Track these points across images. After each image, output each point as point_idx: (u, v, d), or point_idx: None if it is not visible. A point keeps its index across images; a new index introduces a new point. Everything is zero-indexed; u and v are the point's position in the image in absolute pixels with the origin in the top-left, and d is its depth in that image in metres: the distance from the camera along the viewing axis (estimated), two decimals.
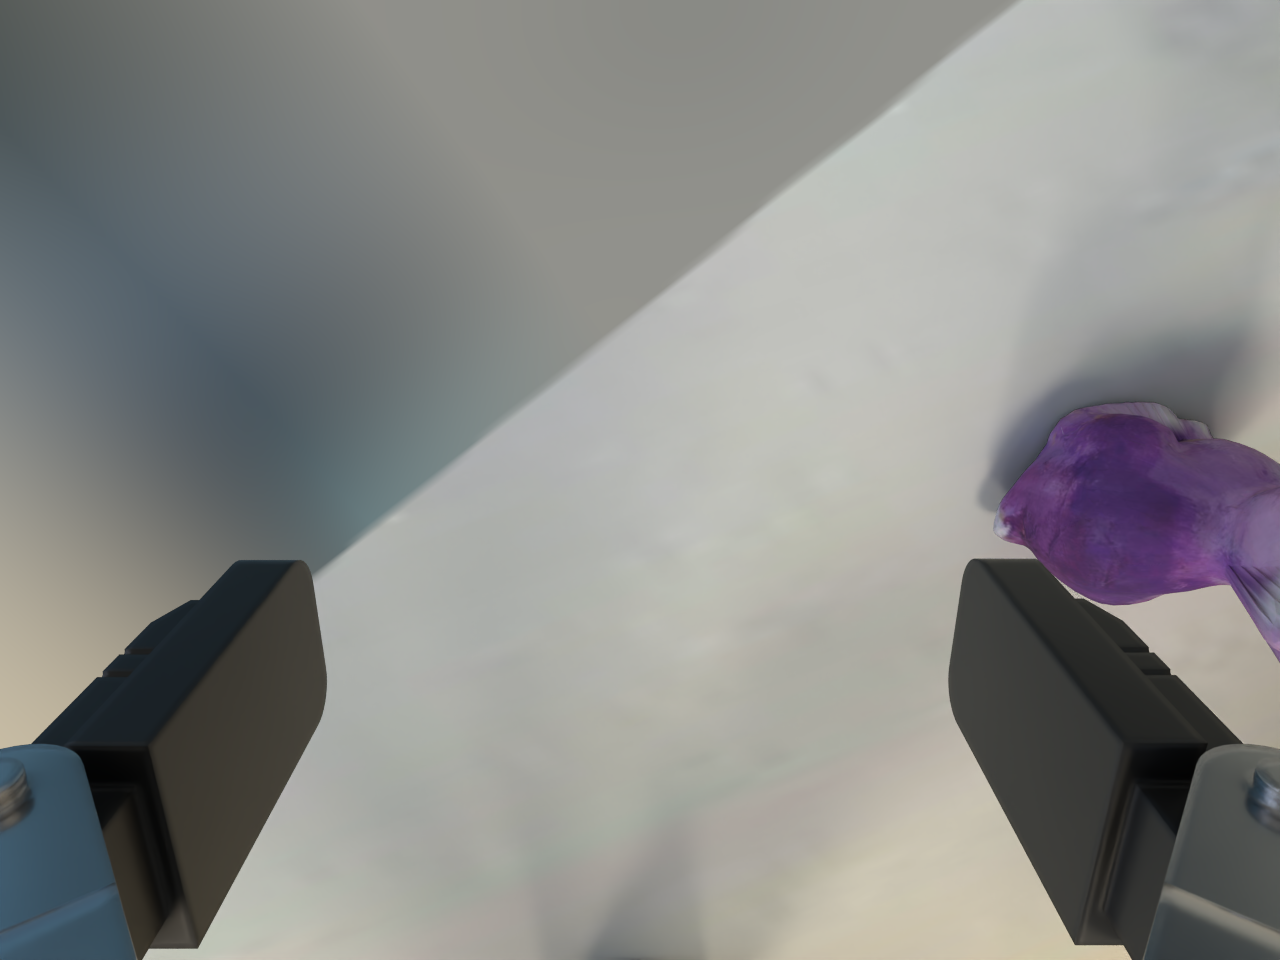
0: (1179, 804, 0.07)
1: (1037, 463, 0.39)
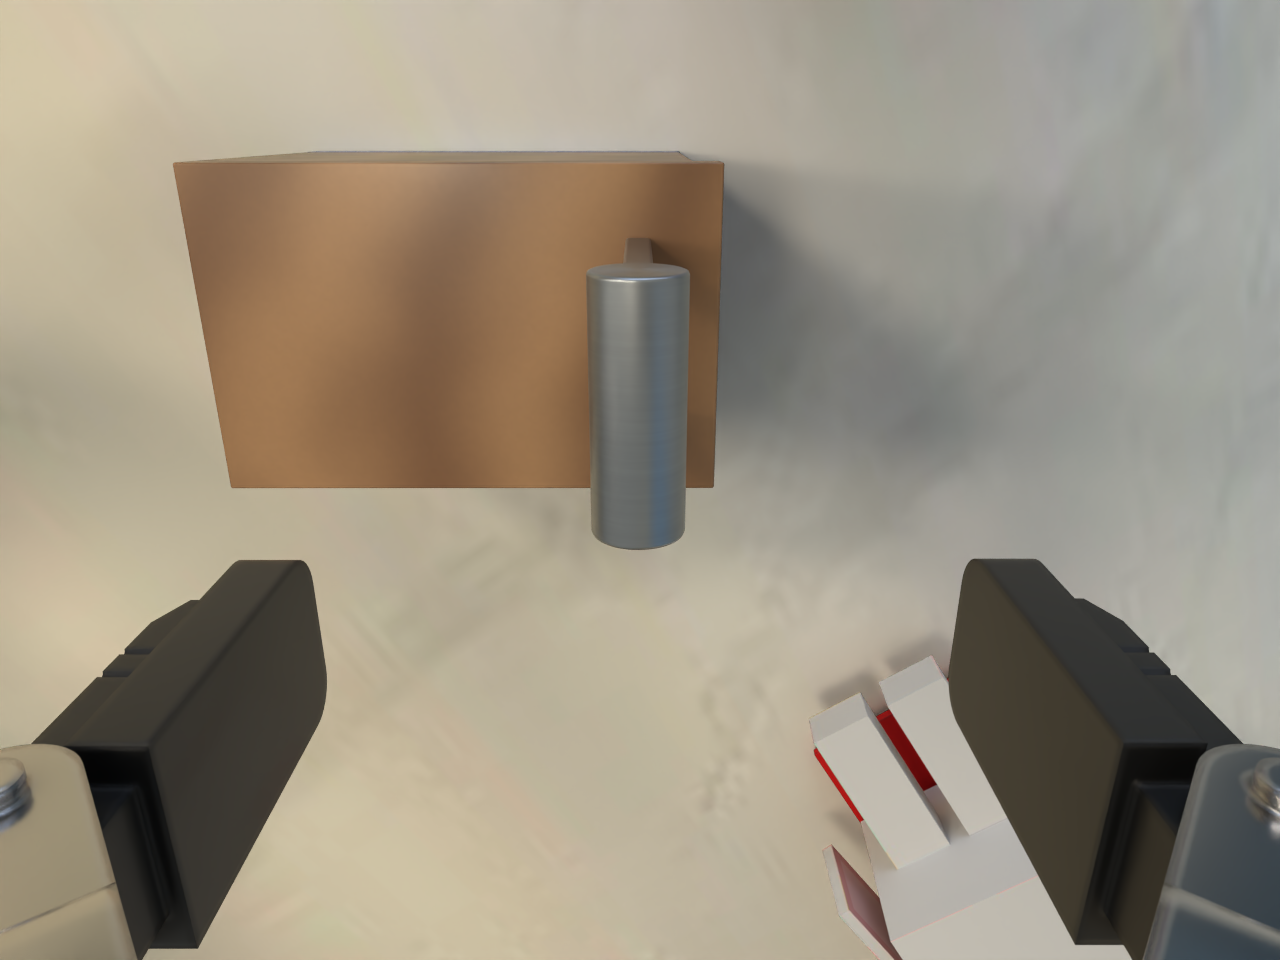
0: (1180, 804, 0.07)
1: None
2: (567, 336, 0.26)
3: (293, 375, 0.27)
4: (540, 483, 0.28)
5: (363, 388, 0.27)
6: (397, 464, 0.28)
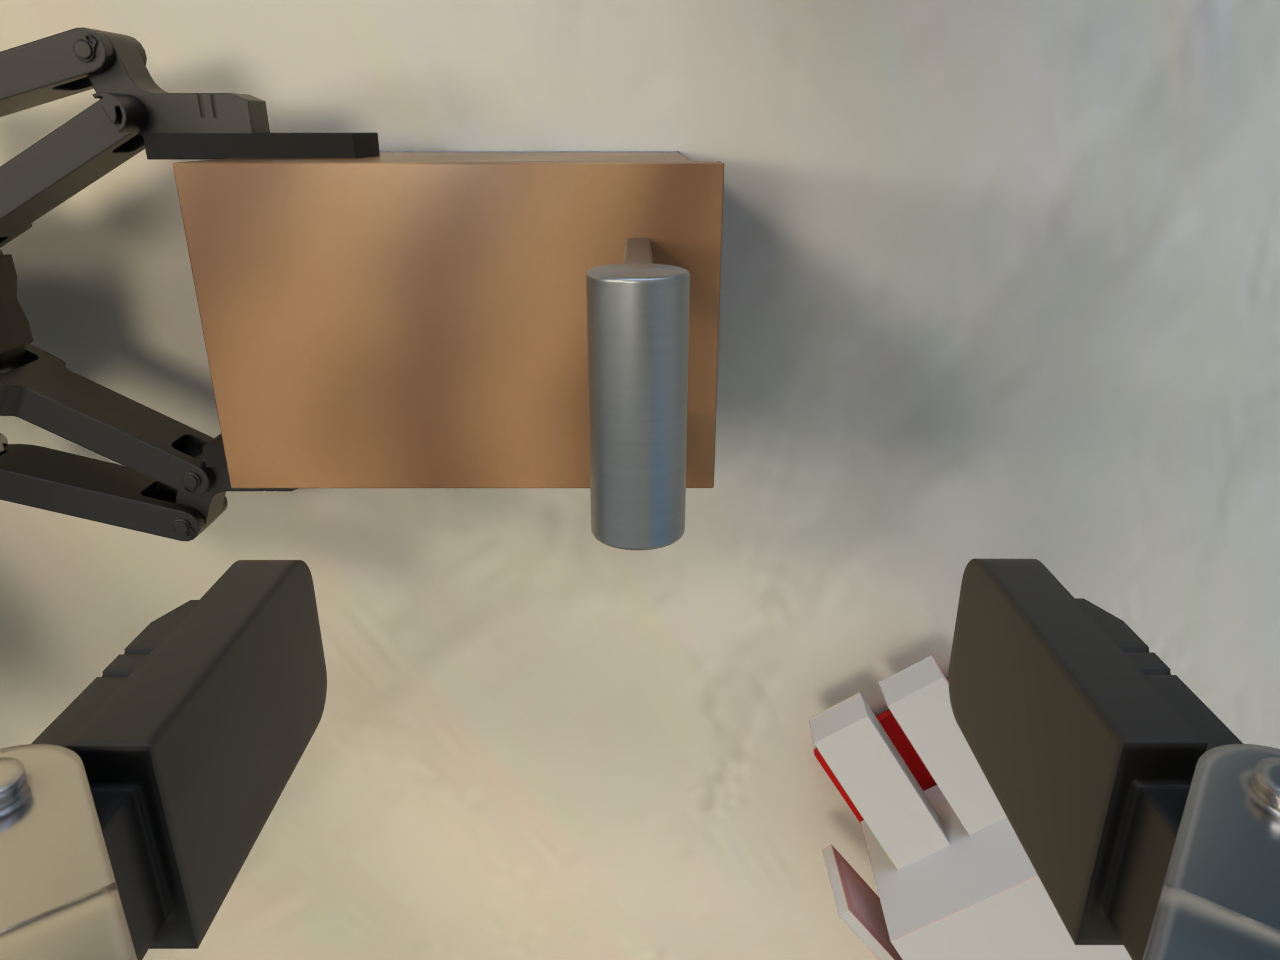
0: (1180, 804, 0.07)
1: None
2: (567, 336, 0.26)
3: (293, 375, 0.27)
4: (540, 483, 0.28)
5: (363, 388, 0.27)
6: (397, 465, 0.28)
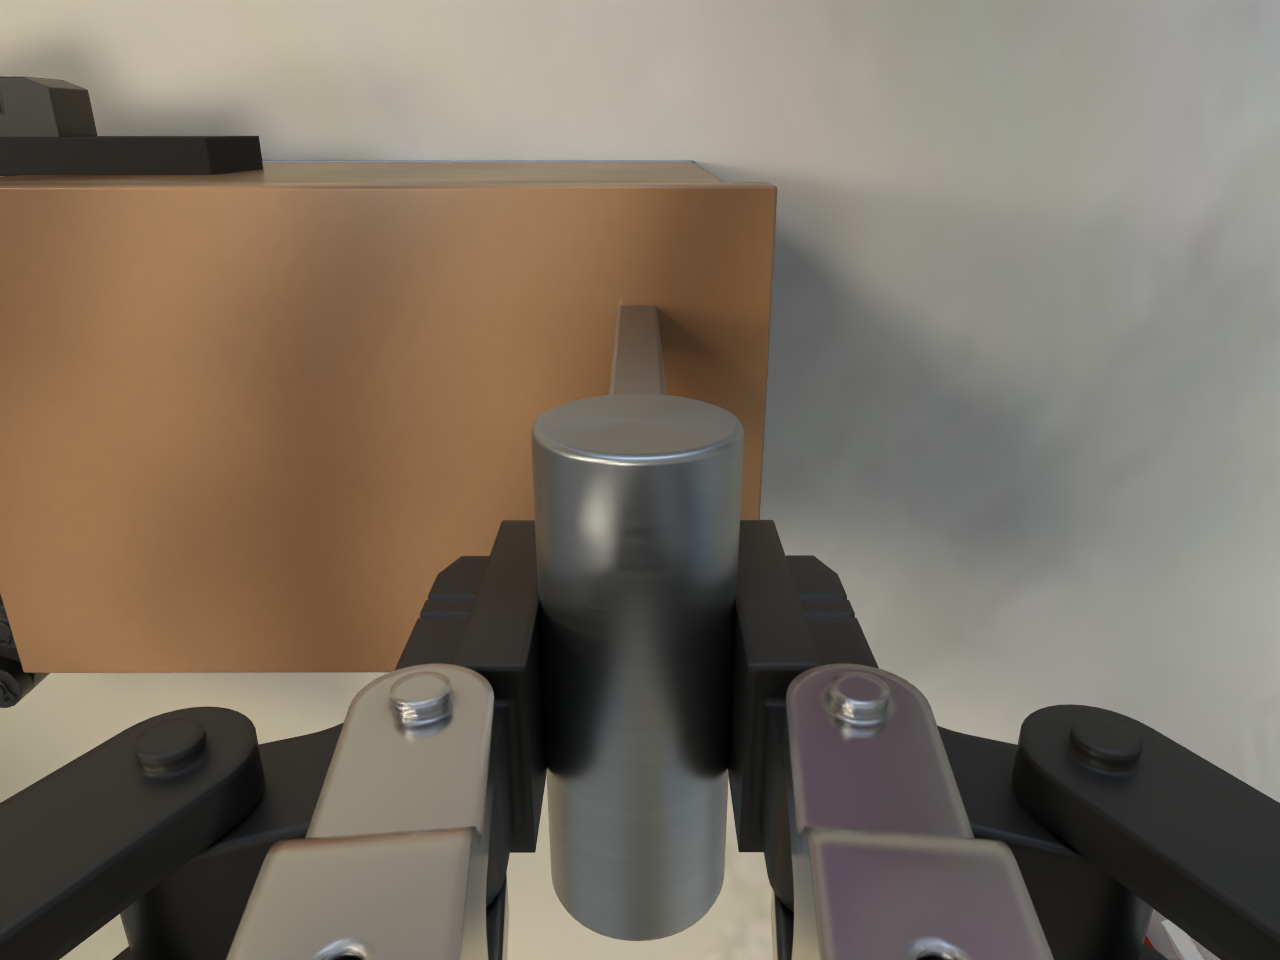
0: None
1: None
2: (526, 455, 0.17)
3: (104, 512, 0.17)
4: None
5: (213, 531, 0.17)
6: (272, 640, 0.18)
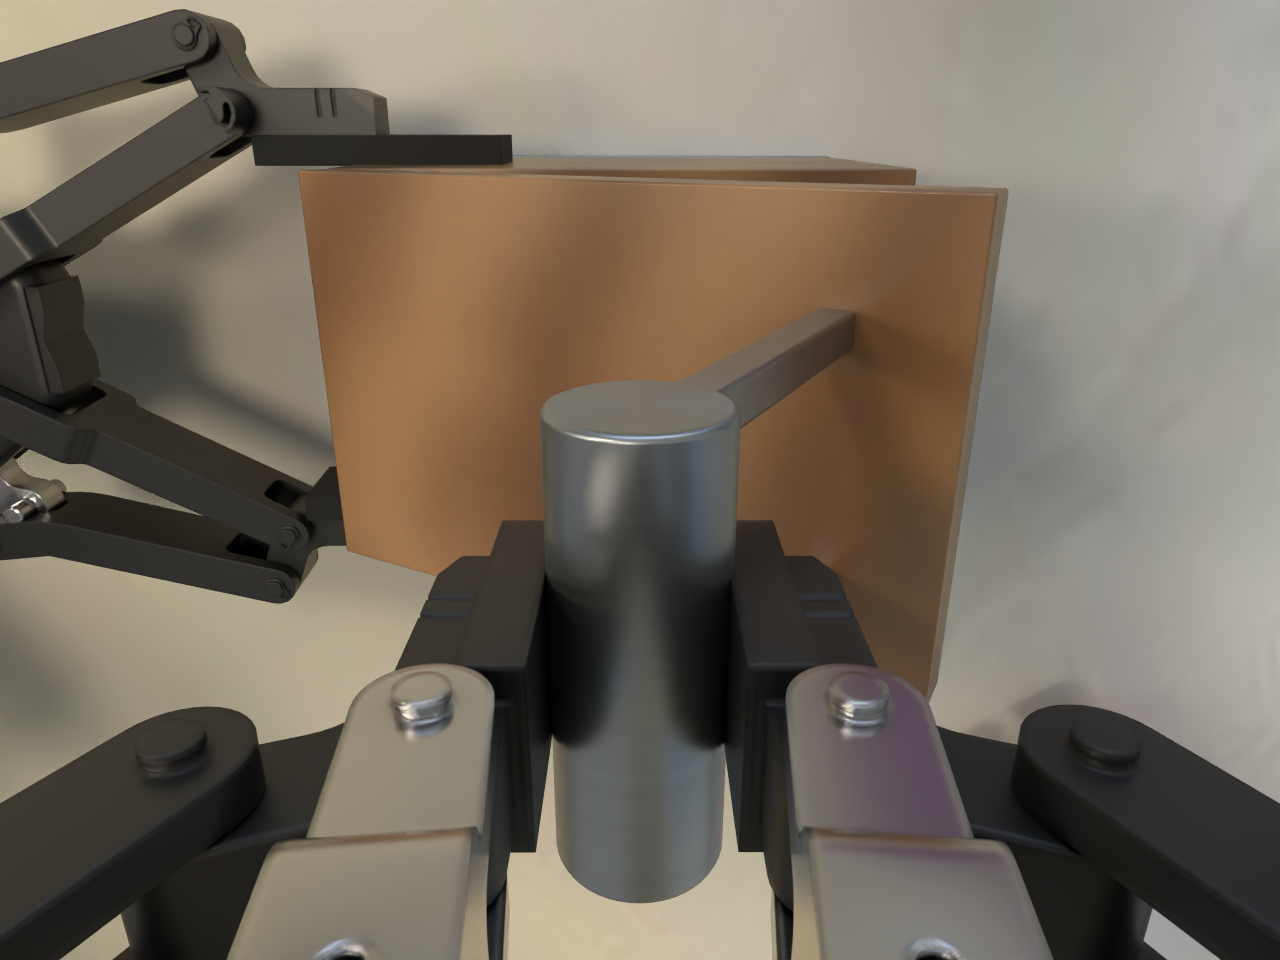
0: None
1: None
2: None
3: (404, 436, 0.21)
4: None
5: (473, 466, 0.21)
6: None
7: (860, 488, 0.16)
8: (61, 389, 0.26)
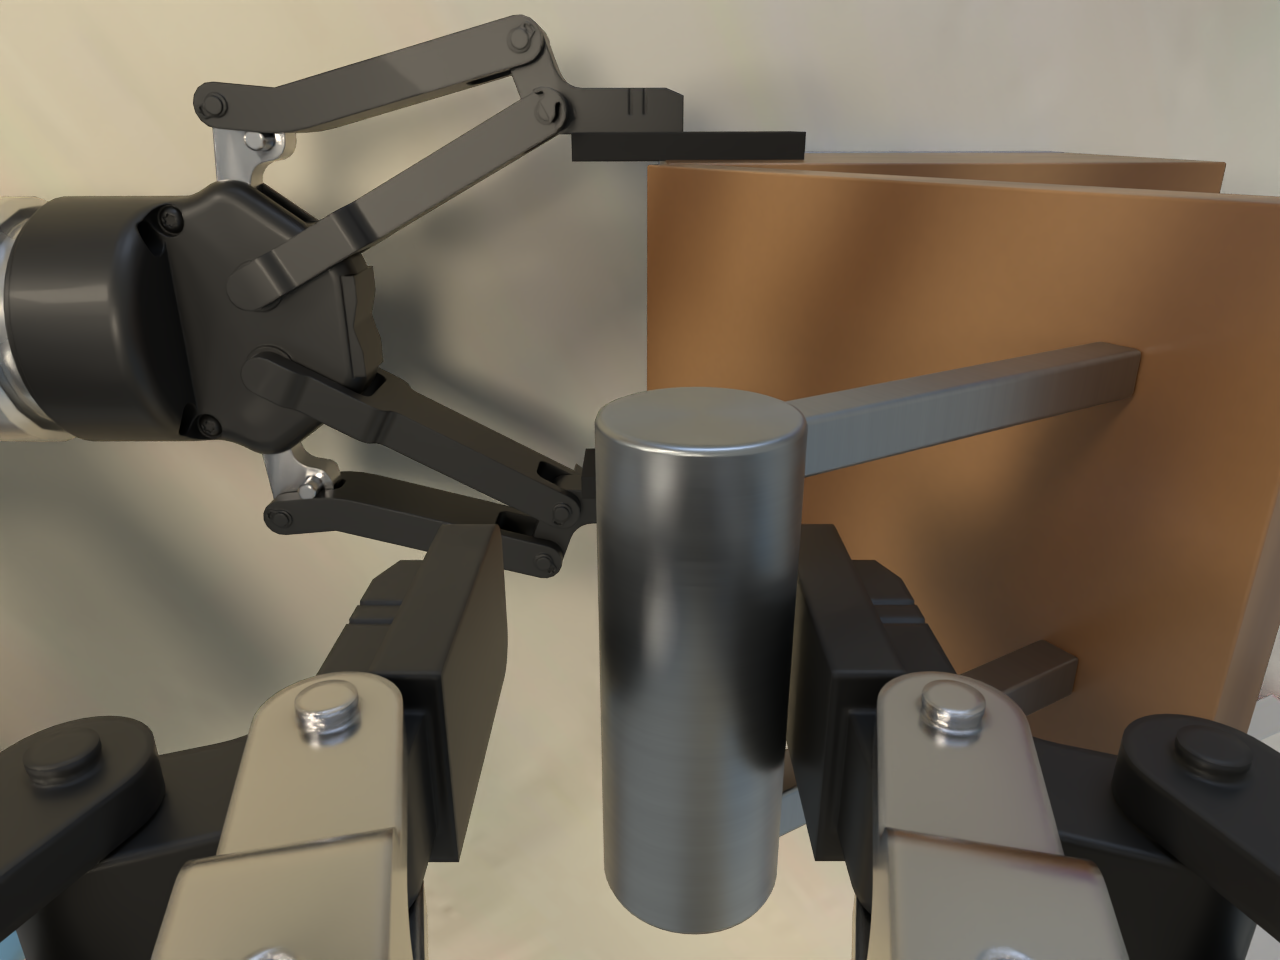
0: None
1: None
2: (972, 484, 0.15)
3: None
4: None
5: None
6: None
7: (1124, 569, 0.13)
8: (364, 373, 0.28)
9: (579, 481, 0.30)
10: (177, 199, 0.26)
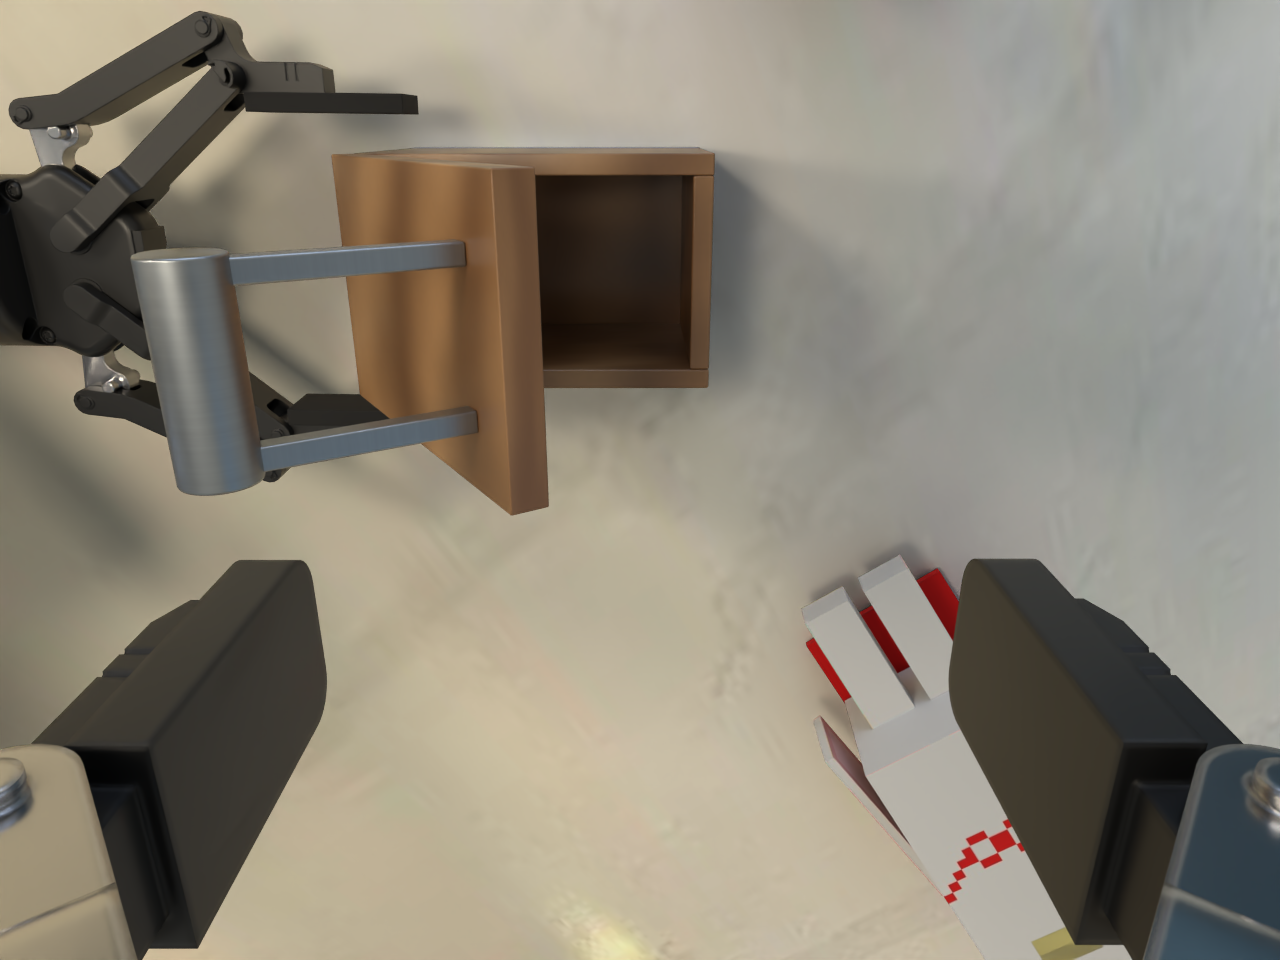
0: (1179, 804, 0.07)
1: None
2: (442, 326, 0.28)
3: (367, 319, 0.35)
4: (443, 457, 0.30)
5: (385, 339, 0.33)
6: (398, 407, 0.33)
7: (478, 356, 0.26)
8: None
9: None
10: (19, 176, 0.39)
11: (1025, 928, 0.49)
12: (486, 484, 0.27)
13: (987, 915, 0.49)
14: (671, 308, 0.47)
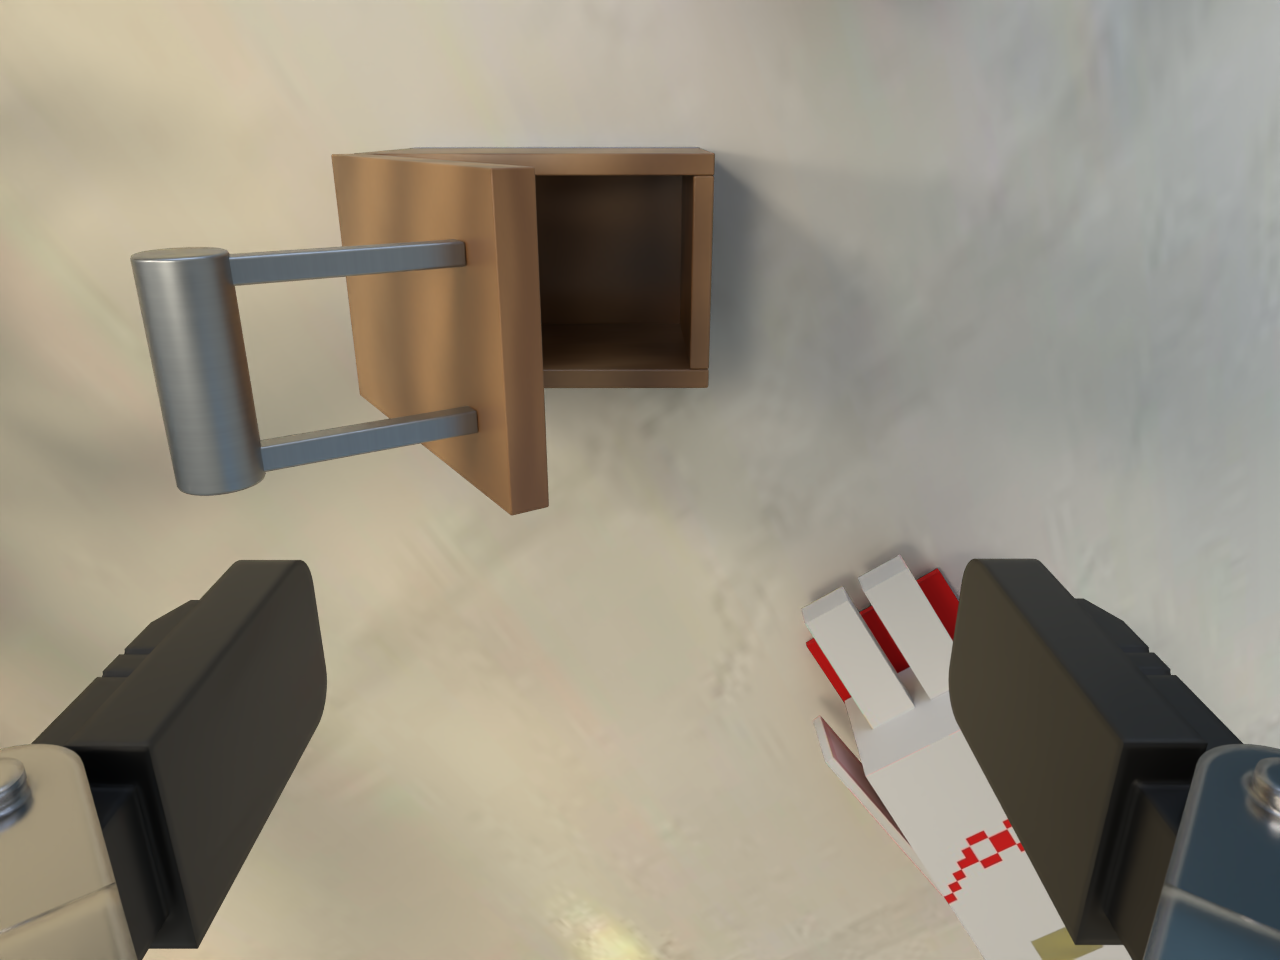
0: (1179, 804, 0.07)
1: None
2: (442, 326, 0.28)
3: (367, 319, 0.35)
4: (443, 457, 0.30)
5: (385, 339, 0.33)
6: (398, 407, 0.33)
7: (478, 356, 0.26)
8: None
9: None
10: None
11: (1025, 928, 0.49)
12: (486, 484, 0.27)
13: (987, 915, 0.49)
14: (671, 308, 0.47)
